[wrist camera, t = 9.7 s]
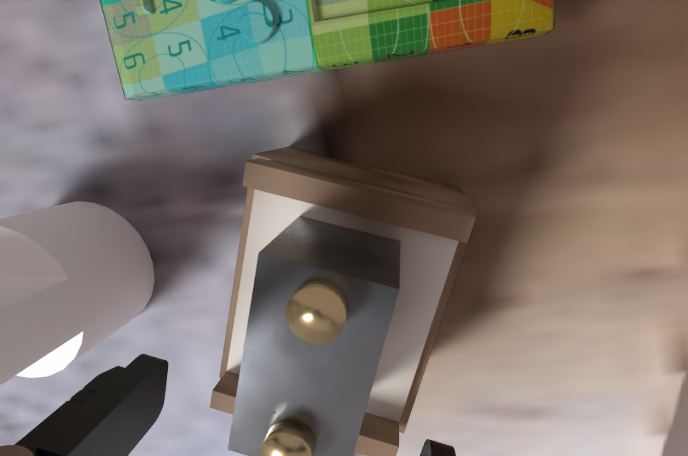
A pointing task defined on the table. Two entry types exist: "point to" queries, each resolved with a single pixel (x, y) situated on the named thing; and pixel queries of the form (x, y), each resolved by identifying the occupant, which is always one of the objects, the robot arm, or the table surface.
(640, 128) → the table surface
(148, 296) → the cylinder with rectangular tab
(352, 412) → the block
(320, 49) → the puzzle game
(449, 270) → the stand
